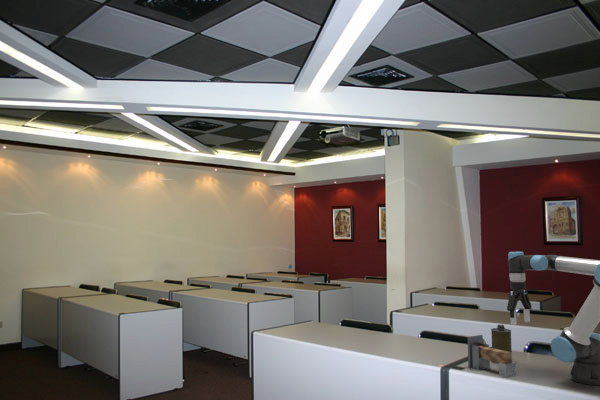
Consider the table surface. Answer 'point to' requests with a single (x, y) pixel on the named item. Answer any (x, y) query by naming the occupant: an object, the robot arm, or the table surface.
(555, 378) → the table surface
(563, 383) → the table surface
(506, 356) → the rail
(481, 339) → the bracket
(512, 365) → the block
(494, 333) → the canister
